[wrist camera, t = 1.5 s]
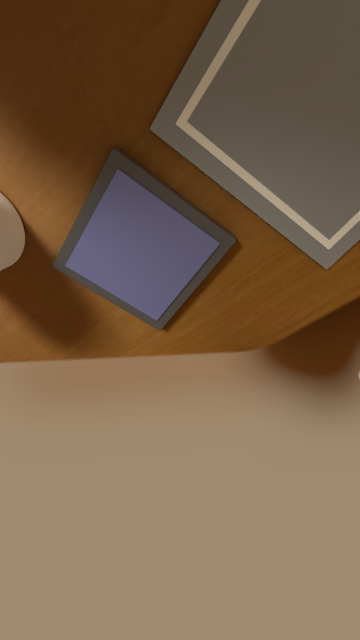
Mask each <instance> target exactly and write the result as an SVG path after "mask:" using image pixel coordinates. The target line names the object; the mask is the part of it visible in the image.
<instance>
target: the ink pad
mask: <svg viewBox="0 0 360 640" xmlns="http://www.w3.org/2000/svg"><path fill="white" fill-rule="evenodd" d="M236 241H237V239H236V236H235V235H233V234H232V233H231V232H229V231H228V230H227V229H225V228H224V227H223V226H221V225H220V224H219V223H217V222H216V221H215V220H213V219H212V218H211V217H209V216H208V215H207V214H205V213H204V212H203V211H201V210H200V209H199V208H197V207H196V206H195V205H193V204H192V203H191V202H190V201H188V200H187V199H186V198H184V197H183V196H182V195H180V194H179V193H178V192H176V191H175V190H174V189H172V188H171V187H170V186H168V185H167V184H166V183H164V182H163V181H162V180H160V179H159V178H158V177H156V176H155V175H154V174H152V173H151V172H150V171H148V170H147V169H146V168H144V167H143V166H142V165H140V164H139V163H138V162H136V161H135V160H134V159H132V158H131V157H130V156H128V155H127V154H126V153H124V152H123V151H122V150H120V149H119V148H118V147H114V148H113V149H112V151H111V153H110V155H109V157H108V159H107V161H106V163H105V165H104V167H103V168H102V170H101V172H100V174H99V176H98V178H97V180H96V182H95V184H94V186H93V188H92V190H91V192H90V194H89V196H88V198H87V199H86V201H85V203H84V205H83V207H82V209H81V211H80V213H79V215H78V217H77V219H76V221H75V223H74V225H73V227H72V229H71V230H70V232H69V234H68V236H67V238H66V240H65V242H64V244H63V246H62V248H61V250H60V252H59V254H58V256H57V258H56V259H55V261H54V263H53V265H52V267H53V268H55V269H56V270H58V271H60V272H61V273H63V274H65V275H66V276H68V277H70V278H72V279H73V280H75V281H77V282H78V283H80V284H82V285H83V286H85V287H87V288H88V289H90V290H92V291H93V292H95V293H97V294H98V295H100V296H102V297H104V298H105V299H107V300H109V301H110V302H112V303H114V304H115V305H117V306H119V307H120V308H122V309H124V310H125V311H127V312H129V313H130V314H132V315H134V316H136V317H137V318H139V319H141V320H142V321H144V322H146V323H147V324H149V325H151V326H152V327H154V328H156V329H157V330H159V331H160V330H161V329H162V328H163V327H164V326H165V324H166V323H167V322H168V321H169V320H170V318H171V317H172V316H173V315H174V314H175V313H176V311H177V310H178V309H179V308H180V307H181V305H182V304H183V303H184V302H185V301H186V300H187V298H188V297H189V296H190V295H191V294H192V293H193V291H194V290H195V289H196V288H197V287H198V285H199V284H200V283H201V282H202V281H203V280H204V278H205V277H206V276H207V275H208V274H209V272H210V271H211V270H212V269H213V268H214V267H215V265H216V264H217V263H218V262H219V261H220V260H221V258H222V257H223V256H224V255H225V254H226V252H227V251H228V250H229V249H230V248H231V247H232V245H233V244H234V243H235V242H236Z"/></svg>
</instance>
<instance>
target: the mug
mask: <svg viewBox="0 0 360 640" xmlns="http://www.w3.org/2000/svg"><path fill="white" fill-rule="evenodd" d="M24 246H25V232H24V227H23V224H22V221H21V219H20V216H19V214H18V213H17V211H16V209H15V208H14V206H13V205H12V204H11V202H10V201H9V200H8V199H7V198H6V197H5V196H4V195H3V194H2V193H1V192H0V271H1V270H3V269H5V268H7V267H9V266H11V265H13V264H14V263H15V262H16V261H17V260H18V259H19V258H20V256H21V255H22V252H23V250H24ZM0 311H1V305H0Z"/></svg>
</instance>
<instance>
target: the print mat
mask: <svg viewBox="0 0 360 640" xmlns="http://www.w3.org/2000/svg"><path fill="white" fill-rule="evenodd" d="M149 129H150V130H151V131H152V132H153V133H155V134H156V135H157V136H158V137H160V138H161V139H162V140H163V141H165V142H166V143H167V144H169V145H170V146H171V147H172V148H174V149H175V150H176V151H177V152H179V153H180V154H181V155H182V156H184V157H185V158H186V159H187V160H189V161H190V162H191V163H192V164H194V165H195V166H196V167H198V168H199V169H200V170H201V171H203V172H204V173H205V174H206V175H208V176H209V177H210V178H211V179H213V180H214V181H215V182H216V183H218V184H219V185H220V186H221V187H223V188H224V189H225V190H226V191H228V192H229V193H230V194H232V195H233V196H234V197H235V198H237V199H238V200H239V201H240V202H242V203H243V204H244V205H245V206H247V207H248V208H249V209H250V210H252V211H253V212H254V213H255V214H257V215H258V216H259V217H260V218H262V219H263V220H264V221H266V222H267V223H268V224H269V225H271V226H272V227H273V228H274V229H276V230H277V231H278V232H279V233H281V234H282V235H283V236H284V237H286V238H287V239H288V240H289V241H291V242H292V243H293V244H295V245H296V246H297V247H298V248H300V249H301V250H302V251H303V252H305V253H306V254H307V255H308V256H310V257H311V258H312V259H313V260H315V261H316V262H317V263H318V264H320V265H321V266H322V267H323V268H325V269H326V270H327V269H328V268H330V267H331V266H332V265H333V264H334V263H335V262H336V261H337V260H338V259H339V258H340V257H341V256H343V255H344V254H345V253H346V252H347V251H348V250H349V249H350V248H351V247H352V246H353V245H354V244H356V243H357V242H358V241H359V240H360V0H221V1H220V3H219V5H218V7H217V8H216V10H215V12H214V14H213V15H212V17H211V19H210V21H209V23H208V24H207V26H206V28H205V30H204V32H203V33H202V35H201V37H200V39H199V41H198V42H197V44H196V46H195V48H194V50H193V51H192V53H191V55H190V57H189V58H188V60H187V62H186V64H185V66H184V67H183V69H182V71H181V73H180V75H179V76H178V78H177V80H176V82H175V84H174V85H173V87H172V89H171V91H170V92H169V94H168V96H167V98H166V100H165V101H164V103H163V105H162V107H161V109H160V110H159V112H158V114H157V116H156V118H155V119H154V121H153V123H152V125H151V127H150V128H149Z"/></svg>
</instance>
